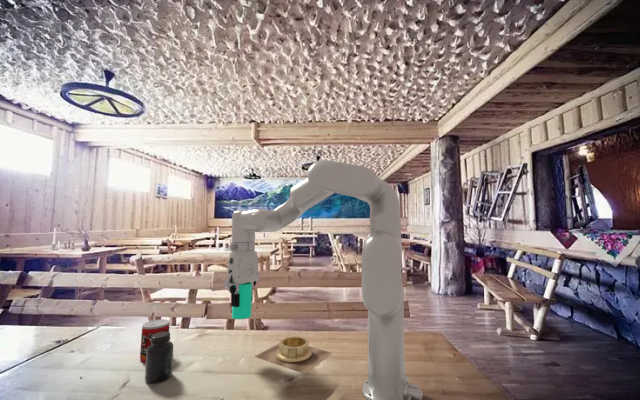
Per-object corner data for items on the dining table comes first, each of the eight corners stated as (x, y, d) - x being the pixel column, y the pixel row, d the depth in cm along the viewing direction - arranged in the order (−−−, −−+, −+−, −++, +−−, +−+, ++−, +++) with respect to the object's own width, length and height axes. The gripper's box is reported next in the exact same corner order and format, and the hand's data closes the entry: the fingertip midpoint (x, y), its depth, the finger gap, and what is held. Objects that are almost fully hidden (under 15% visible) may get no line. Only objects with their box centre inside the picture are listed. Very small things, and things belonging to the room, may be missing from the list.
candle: (246, 319, 85) (246, 280, 87) (228, 318, 86) (229, 279, 88) (254, 314, 91) (255, 277, 92) (237, 313, 92) (238, 276, 94)
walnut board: (331, 357, 92) (332, 352, 93) (305, 379, 79) (305, 373, 79) (285, 344, 103) (285, 339, 103) (254, 361, 89) (254, 356, 89)
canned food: (134, 359, 90) (137, 324, 91) (158, 350, 97) (160, 317, 98) (148, 365, 86) (151, 328, 87) (172, 355, 93) (174, 321, 94)
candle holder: (318, 352, 93) (318, 339, 93) (297, 367, 83) (298, 353, 83) (290, 344, 99) (290, 332, 100) (267, 357, 89) (268, 344, 89)
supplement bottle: (166, 369, 84) (168, 328, 85) (176, 377, 79) (178, 333, 81) (140, 378, 78) (143, 334, 80) (149, 387, 74) (153, 341, 75)
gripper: (230, 249, 82) (228, 312, 80) (269, 246, 96) (268, 300, 94) (214, 249, 86) (212, 309, 84) (253, 246, 100) (252, 297, 98)
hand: (242, 303), depth 89 cm, fingers closed on candle, 4 cm apart
